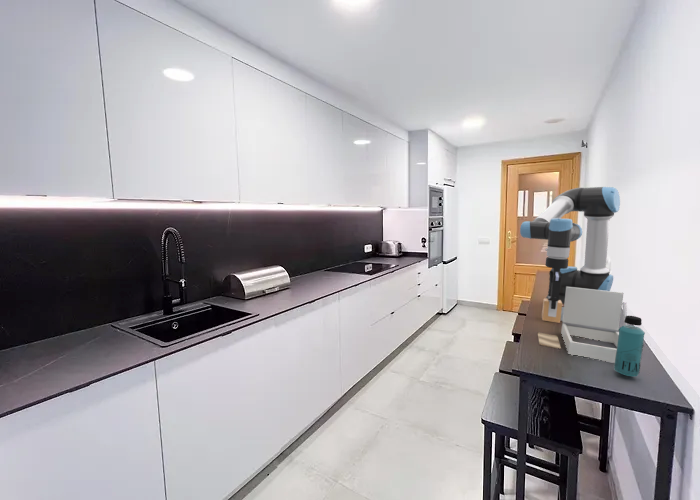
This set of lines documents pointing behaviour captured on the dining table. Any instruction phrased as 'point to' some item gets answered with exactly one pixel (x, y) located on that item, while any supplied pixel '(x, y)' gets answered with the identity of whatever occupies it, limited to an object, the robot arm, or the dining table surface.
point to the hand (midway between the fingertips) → (551, 314)
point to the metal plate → (548, 340)
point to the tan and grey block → (546, 308)
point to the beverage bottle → (629, 347)
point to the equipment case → (592, 321)
